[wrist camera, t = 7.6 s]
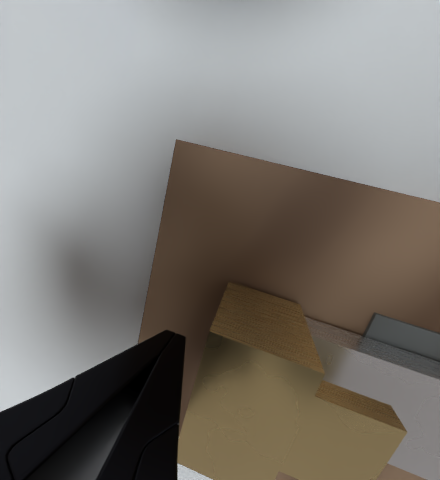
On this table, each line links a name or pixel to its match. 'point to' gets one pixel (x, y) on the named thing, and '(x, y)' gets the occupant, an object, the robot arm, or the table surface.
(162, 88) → the table surface
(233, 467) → the gold t-shaped block
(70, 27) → the table surface
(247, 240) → the base
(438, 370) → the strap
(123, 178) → the table surface
